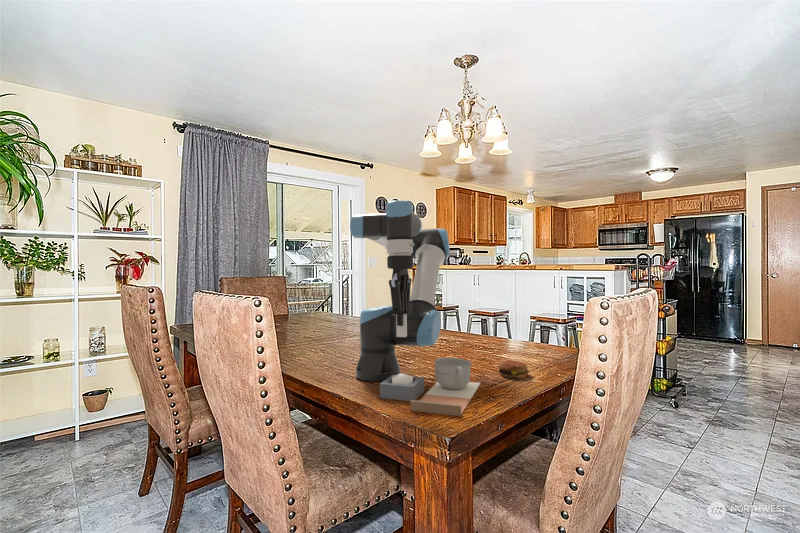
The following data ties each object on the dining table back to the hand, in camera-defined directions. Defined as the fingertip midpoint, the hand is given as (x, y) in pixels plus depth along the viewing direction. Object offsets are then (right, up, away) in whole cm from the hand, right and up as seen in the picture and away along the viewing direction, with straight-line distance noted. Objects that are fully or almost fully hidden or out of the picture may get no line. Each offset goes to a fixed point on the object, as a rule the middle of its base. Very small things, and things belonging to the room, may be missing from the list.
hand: (401, 336), depth 120 cm
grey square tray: (0, -17, 0) cm, 17 cm away
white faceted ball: (0, -17, 0) cm, 17 cm away
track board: (+13, -16, -2) cm, 21 cm away
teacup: (+16, -16, +4) cm, 23 cm away
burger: (+37, -16, +18) cm, 45 cm away
